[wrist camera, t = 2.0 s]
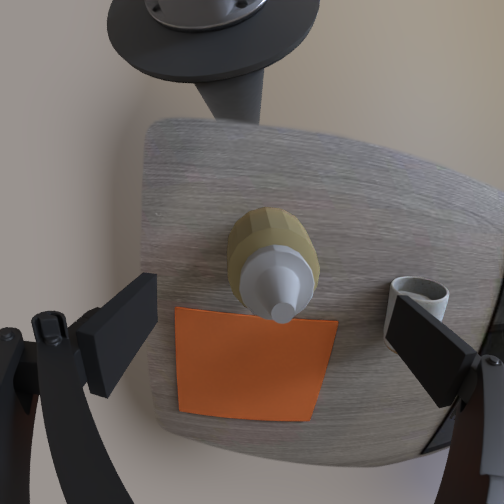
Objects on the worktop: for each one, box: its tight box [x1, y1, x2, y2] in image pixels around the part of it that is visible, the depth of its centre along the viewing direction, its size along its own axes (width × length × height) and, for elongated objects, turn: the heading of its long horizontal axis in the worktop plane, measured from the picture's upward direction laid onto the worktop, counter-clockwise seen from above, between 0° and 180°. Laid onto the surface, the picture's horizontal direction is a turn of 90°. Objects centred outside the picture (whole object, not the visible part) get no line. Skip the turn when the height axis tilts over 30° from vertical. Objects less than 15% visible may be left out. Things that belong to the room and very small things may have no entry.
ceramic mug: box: [383, 276, 449, 354], centre depth 29 cm, size 11×8×8 cm
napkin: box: [175, 307, 339, 421], centre depth 35 cm, size 18×20×1 cm
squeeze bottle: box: [227, 207, 320, 324], centre depth 22 cm, size 8×8×18 cm
